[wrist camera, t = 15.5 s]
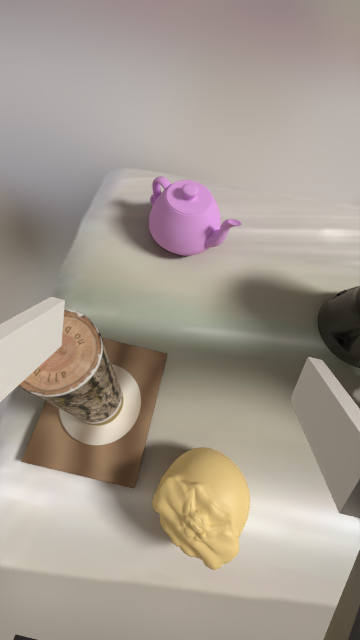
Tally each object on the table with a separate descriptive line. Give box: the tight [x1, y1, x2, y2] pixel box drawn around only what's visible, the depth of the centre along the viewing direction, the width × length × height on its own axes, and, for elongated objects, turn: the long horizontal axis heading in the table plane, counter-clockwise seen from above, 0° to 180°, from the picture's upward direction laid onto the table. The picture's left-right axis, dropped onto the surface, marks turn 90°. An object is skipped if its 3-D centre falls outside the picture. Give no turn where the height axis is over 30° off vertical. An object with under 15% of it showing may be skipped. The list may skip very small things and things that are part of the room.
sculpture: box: [152, 448, 250, 570], centre depth 38 cm, size 12×12×11 cm
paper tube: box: [19, 309, 124, 426], centre depth 33 cm, size 7×7×25 cm
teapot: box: [149, 177, 241, 257], centre depth 56 cm, size 20×14×12 cm
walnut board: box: [21, 338, 167, 488], centre depth 46 cm, size 16×20×2 cm
